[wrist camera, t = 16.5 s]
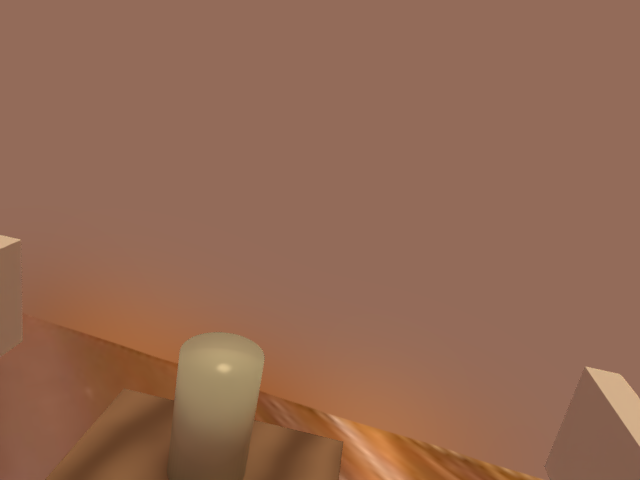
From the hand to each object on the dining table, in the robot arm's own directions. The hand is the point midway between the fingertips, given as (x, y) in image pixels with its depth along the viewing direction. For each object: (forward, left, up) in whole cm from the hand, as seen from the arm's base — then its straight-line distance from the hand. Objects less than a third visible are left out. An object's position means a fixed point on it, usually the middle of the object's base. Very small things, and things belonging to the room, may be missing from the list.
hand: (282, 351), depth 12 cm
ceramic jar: (+7, -23, -27) cm, 36 cm away
